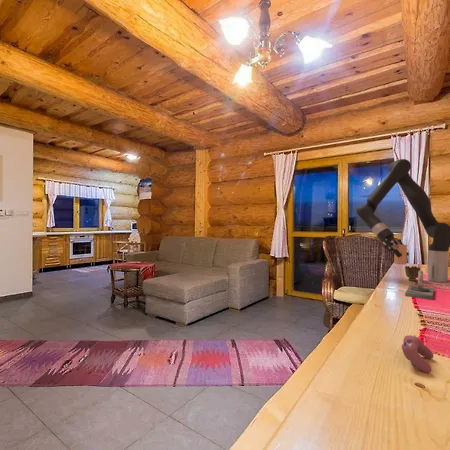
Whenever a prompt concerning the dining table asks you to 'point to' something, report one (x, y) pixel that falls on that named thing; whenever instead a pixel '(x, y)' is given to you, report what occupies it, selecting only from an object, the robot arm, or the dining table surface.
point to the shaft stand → (420, 289)
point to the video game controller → (417, 352)
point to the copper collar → (403, 251)
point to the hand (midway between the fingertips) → (403, 256)
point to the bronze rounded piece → (412, 272)
